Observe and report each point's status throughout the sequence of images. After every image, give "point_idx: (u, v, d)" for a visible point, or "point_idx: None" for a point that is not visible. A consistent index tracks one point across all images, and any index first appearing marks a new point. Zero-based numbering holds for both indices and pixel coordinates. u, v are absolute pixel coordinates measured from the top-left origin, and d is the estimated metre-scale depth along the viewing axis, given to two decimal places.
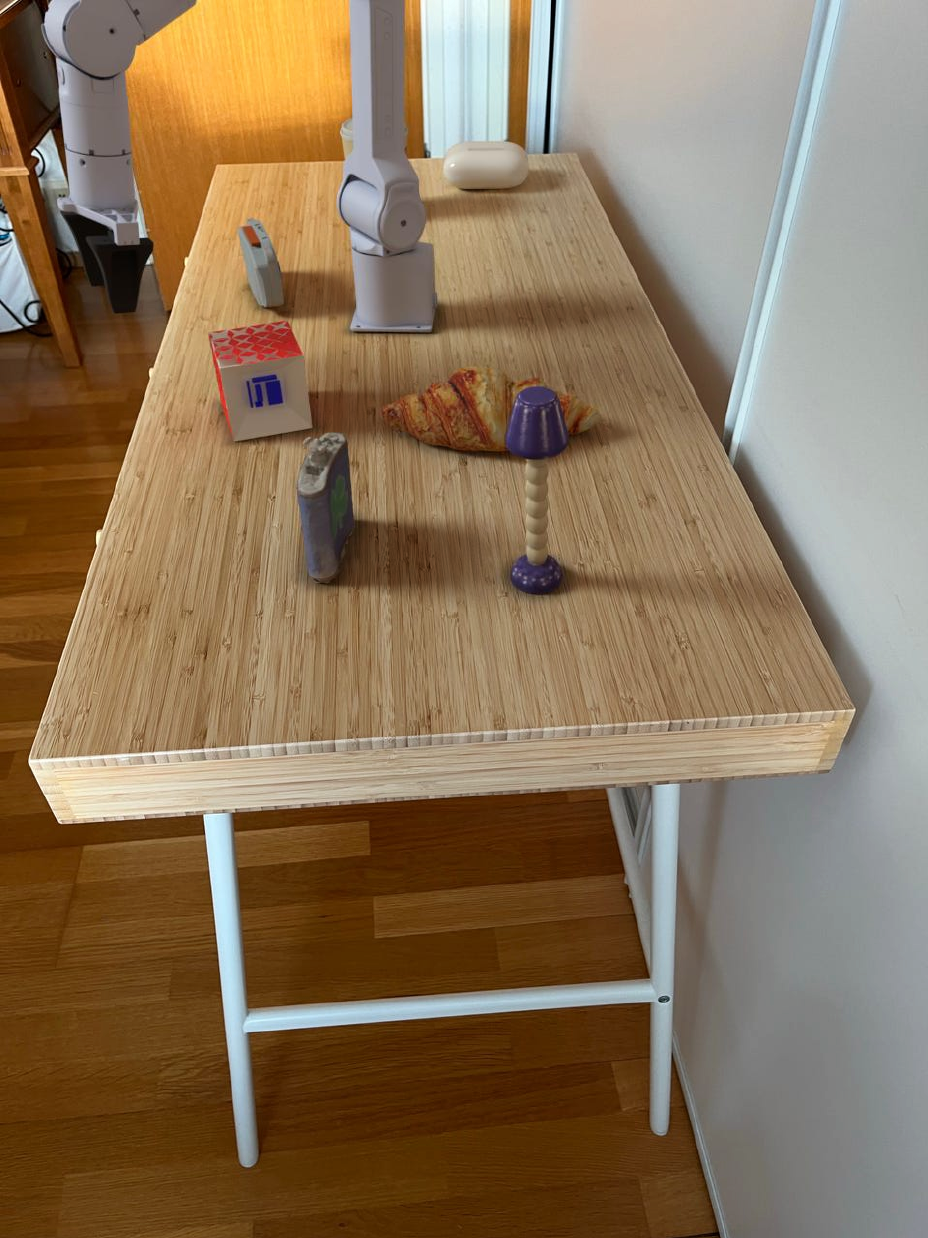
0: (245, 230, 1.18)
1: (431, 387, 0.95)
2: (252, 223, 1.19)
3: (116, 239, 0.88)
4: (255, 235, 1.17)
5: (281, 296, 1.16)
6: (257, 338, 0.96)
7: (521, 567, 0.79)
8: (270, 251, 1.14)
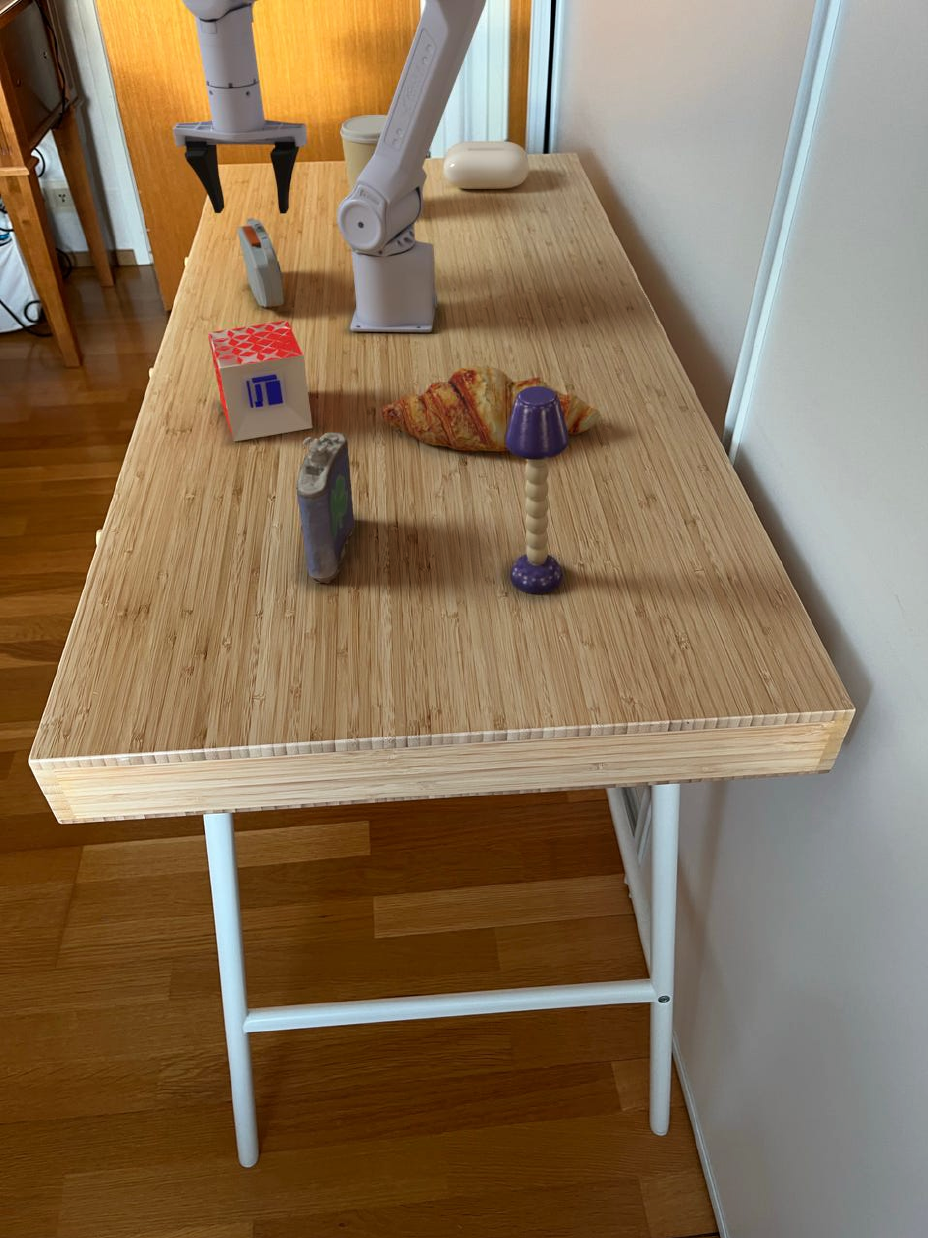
0: (245, 230, 1.18)
1: (431, 387, 0.95)
2: (252, 223, 1.19)
3: None
4: (255, 235, 1.17)
5: (281, 296, 1.16)
6: (257, 338, 0.96)
7: (521, 567, 0.79)
8: (270, 251, 1.14)
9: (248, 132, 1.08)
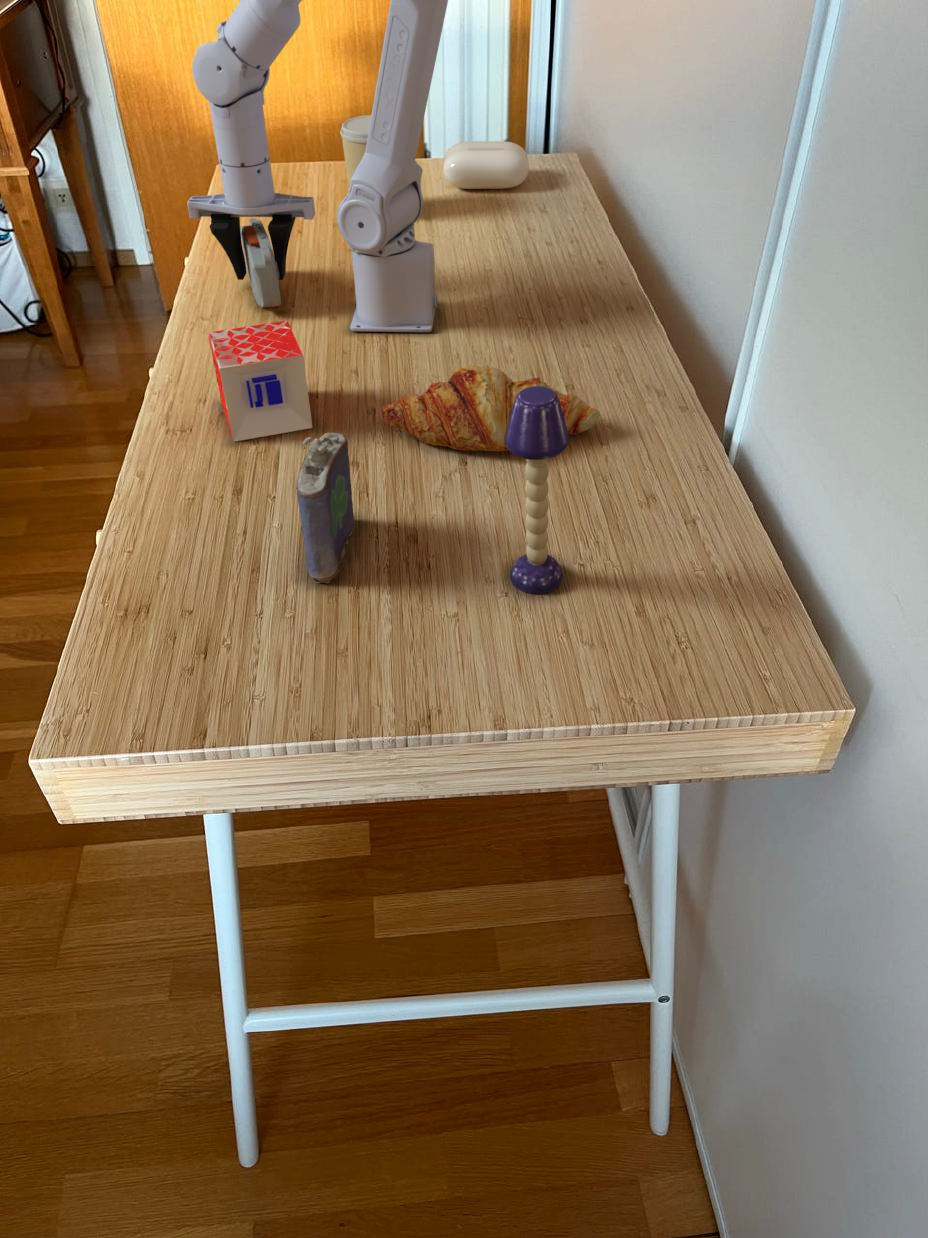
0: (245, 230, 1.18)
1: (431, 387, 0.95)
2: (253, 223, 1.19)
3: None
4: (255, 235, 1.17)
5: (278, 297, 1.16)
6: (257, 338, 0.96)
7: (521, 567, 0.79)
8: (268, 251, 1.14)
9: (259, 207, 1.13)
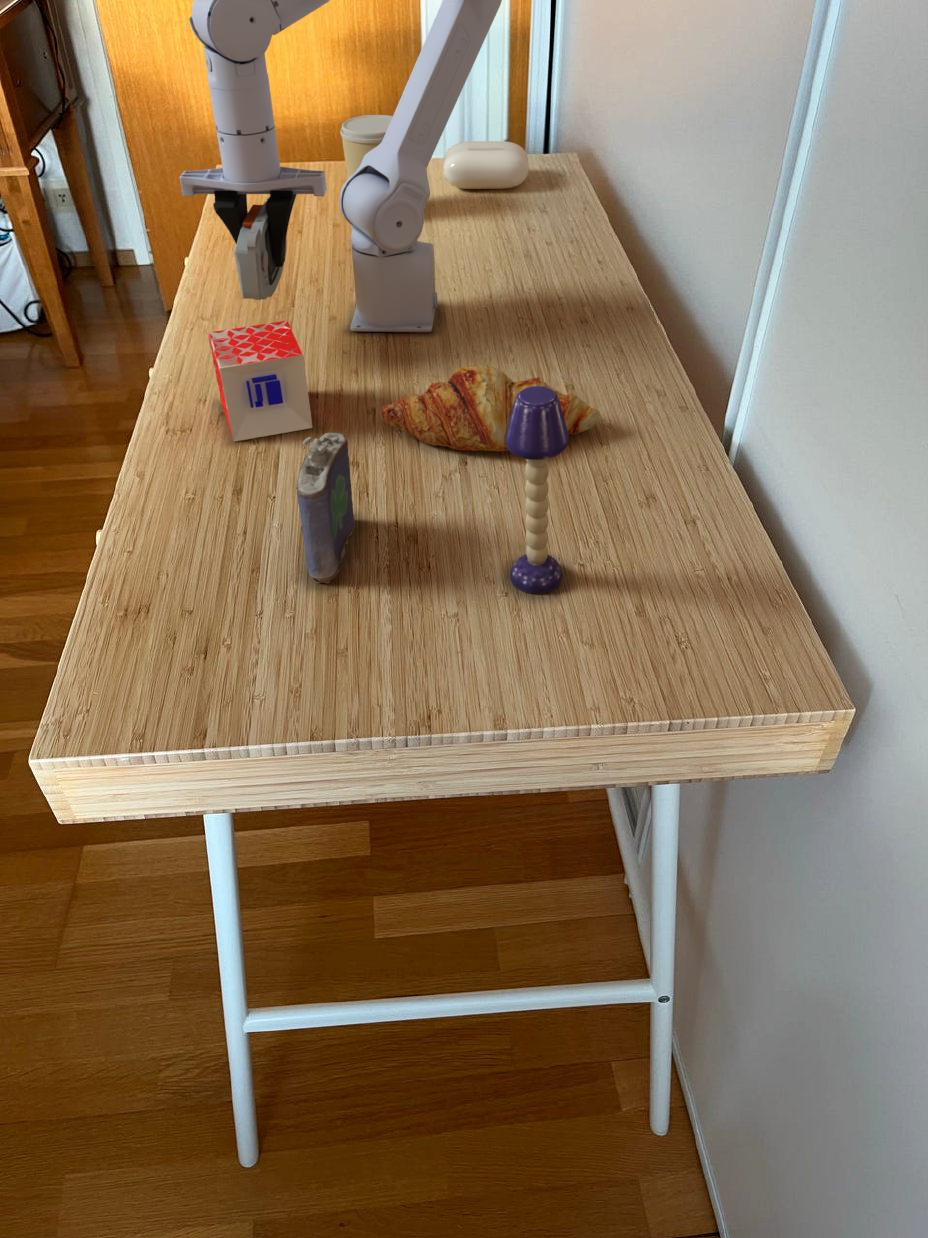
0: (251, 209, 1.04)
1: (431, 387, 0.95)
2: (265, 202, 1.05)
3: None
4: (255, 216, 1.02)
5: (260, 289, 1.01)
6: (257, 338, 0.96)
7: (521, 567, 0.79)
8: (254, 236, 0.99)
9: (263, 182, 0.98)
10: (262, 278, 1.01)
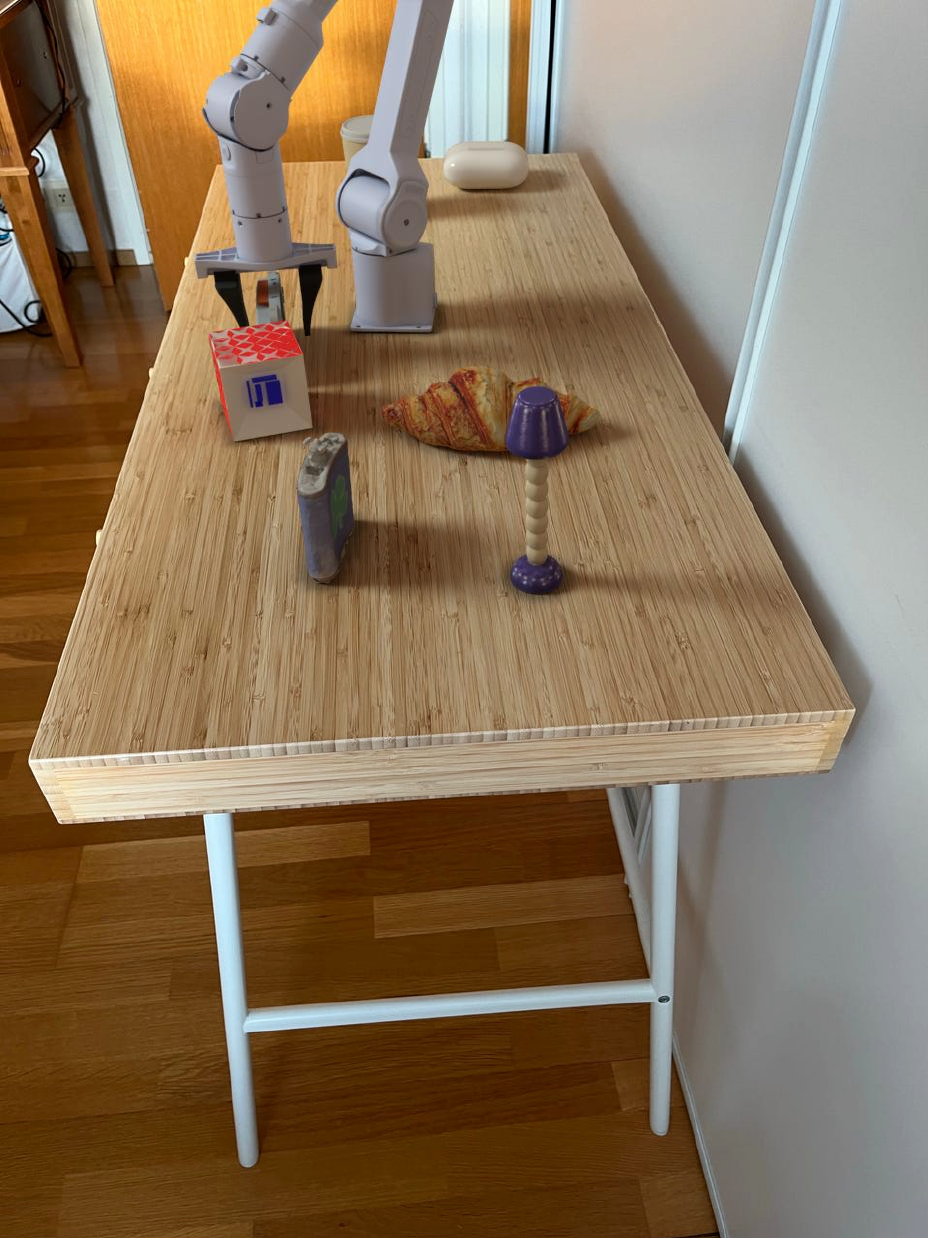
0: (259, 285, 1.06)
1: (431, 387, 0.95)
2: (269, 277, 1.07)
3: None
4: (266, 292, 1.04)
5: None
6: (257, 338, 0.96)
7: (521, 567, 0.79)
8: (275, 314, 1.01)
9: (281, 260, 1.01)
10: None
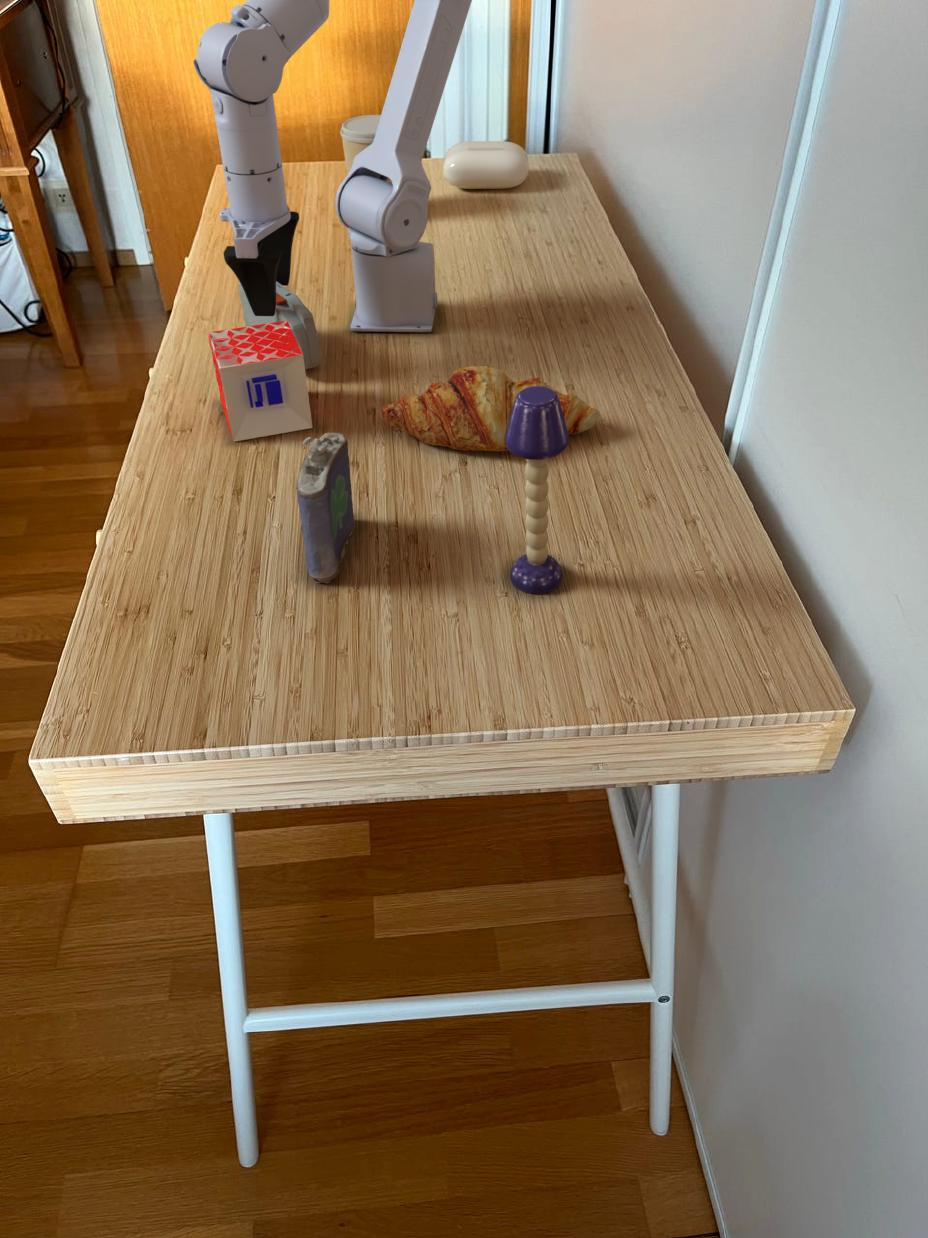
0: None
1: (431, 387, 0.95)
2: None
3: (236, 252, 0.96)
4: None
5: (318, 356, 1.05)
6: (257, 338, 0.96)
7: (521, 567, 0.79)
8: (304, 309, 1.02)
9: (287, 206, 1.01)
10: None
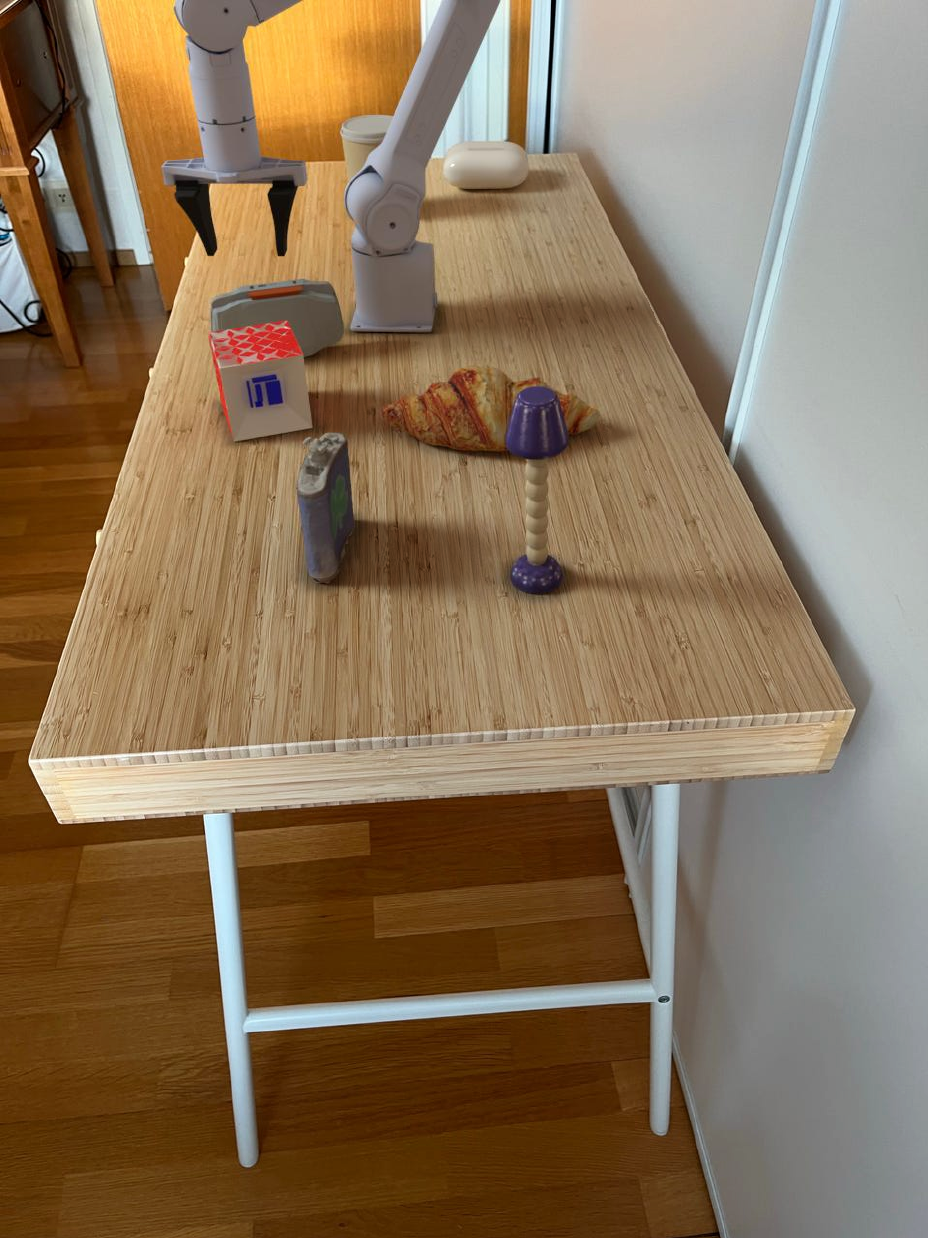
0: (262, 294, 1.04)
1: (431, 387, 0.95)
2: (245, 290, 1.05)
3: (301, 181, 1.01)
4: (281, 288, 1.05)
5: None
6: (257, 338, 0.96)
7: (521, 567, 0.79)
8: (325, 282, 1.07)
9: None
10: None
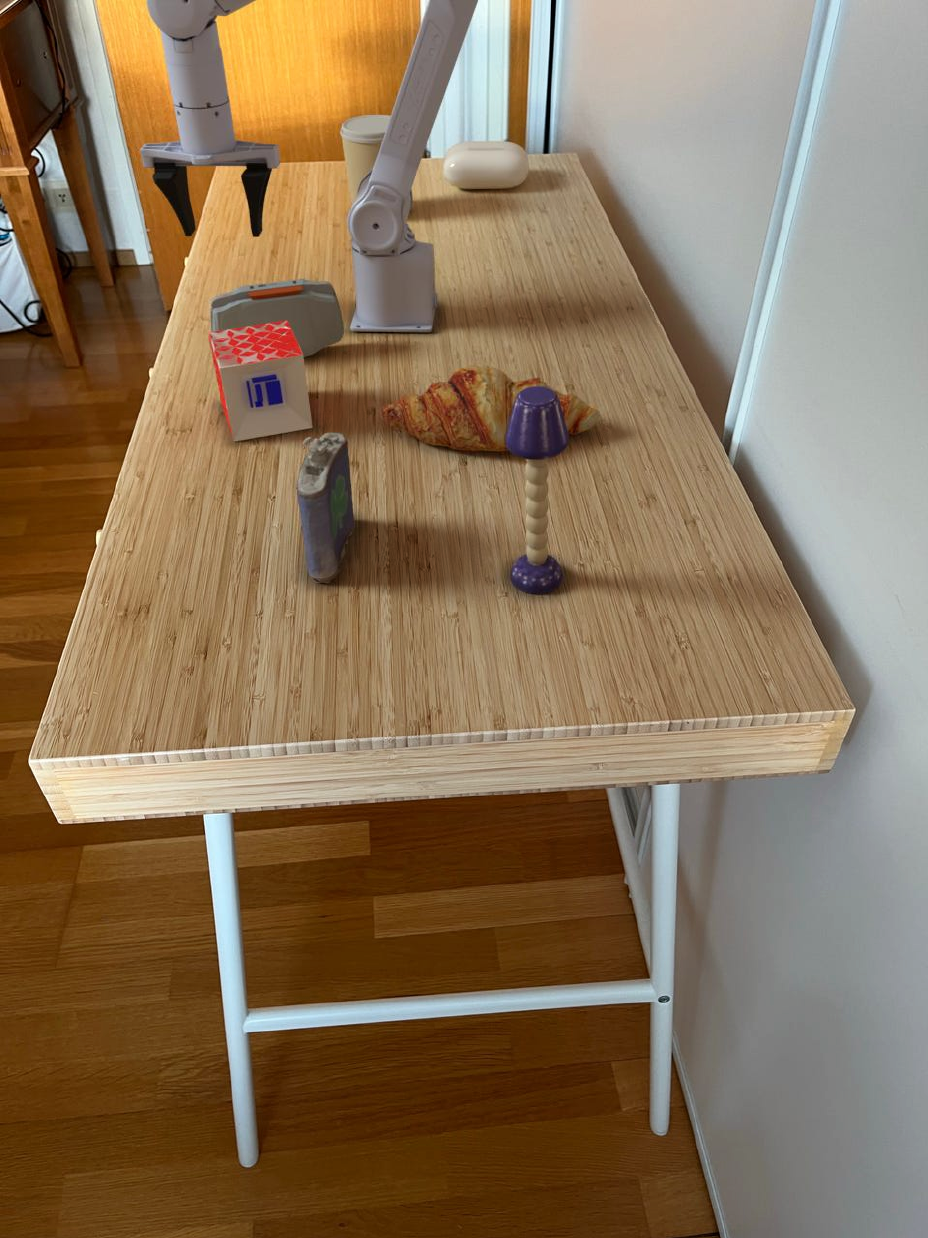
0: (262, 294, 1.04)
1: (431, 387, 0.95)
2: (245, 290, 1.05)
3: (274, 164, 1.05)
4: (281, 288, 1.05)
5: None
6: (257, 338, 0.96)
7: (521, 567, 0.79)
8: (325, 282, 1.07)
9: None
10: None
